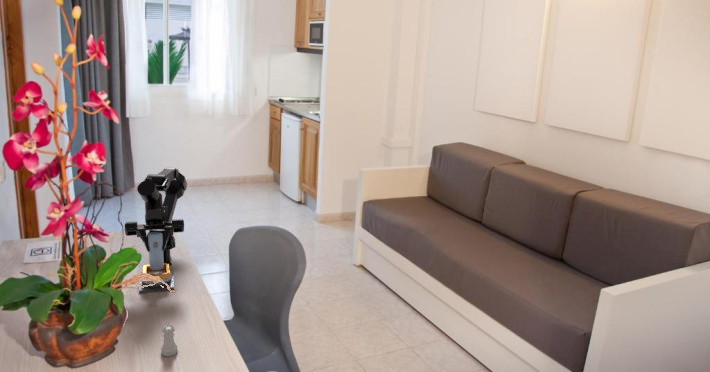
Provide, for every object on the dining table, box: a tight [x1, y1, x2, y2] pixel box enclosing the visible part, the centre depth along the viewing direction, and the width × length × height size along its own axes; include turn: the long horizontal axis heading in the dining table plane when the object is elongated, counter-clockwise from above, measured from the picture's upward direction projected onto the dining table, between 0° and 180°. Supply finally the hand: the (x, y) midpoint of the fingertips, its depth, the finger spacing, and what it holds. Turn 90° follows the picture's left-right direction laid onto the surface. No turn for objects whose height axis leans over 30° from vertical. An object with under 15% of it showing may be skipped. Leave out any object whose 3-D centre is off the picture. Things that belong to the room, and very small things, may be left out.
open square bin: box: [138, 263, 175, 294], centre depth 194 cm, size 11×11×6 cm
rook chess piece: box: [160, 324, 179, 358], centre depth 157 cm, size 4×4×8 cm
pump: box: [147, 232, 164, 270], centre depth 190 cm, size 6×4×12 cm
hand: (156, 250), depth 189 cm, fingers closed on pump, 4 cm apart
